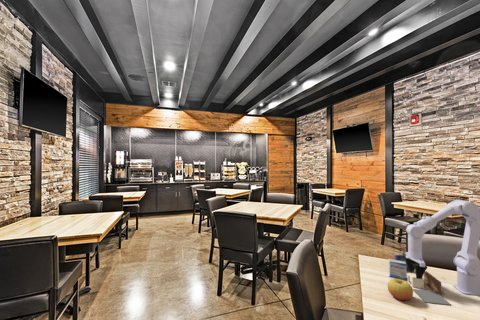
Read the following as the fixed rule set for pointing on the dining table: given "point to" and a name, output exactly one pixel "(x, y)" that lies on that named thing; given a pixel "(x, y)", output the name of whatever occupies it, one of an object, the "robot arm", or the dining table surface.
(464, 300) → the dining table surface
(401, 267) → the medicine box
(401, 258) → the flask
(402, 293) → the apple
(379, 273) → the dining table surface
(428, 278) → the walnut screen
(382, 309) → the dining table surface
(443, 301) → the slate pad
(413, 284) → the letter cube
